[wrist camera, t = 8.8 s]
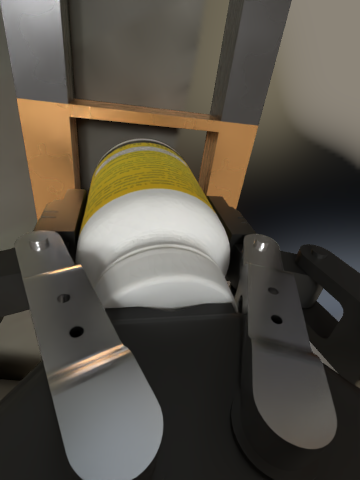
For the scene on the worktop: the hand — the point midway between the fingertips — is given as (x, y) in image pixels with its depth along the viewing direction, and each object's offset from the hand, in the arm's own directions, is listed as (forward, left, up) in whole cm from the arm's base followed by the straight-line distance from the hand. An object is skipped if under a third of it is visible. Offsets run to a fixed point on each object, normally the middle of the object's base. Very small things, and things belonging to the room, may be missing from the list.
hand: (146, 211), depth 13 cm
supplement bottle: (0, 0, -3) cm, 3 cm away
